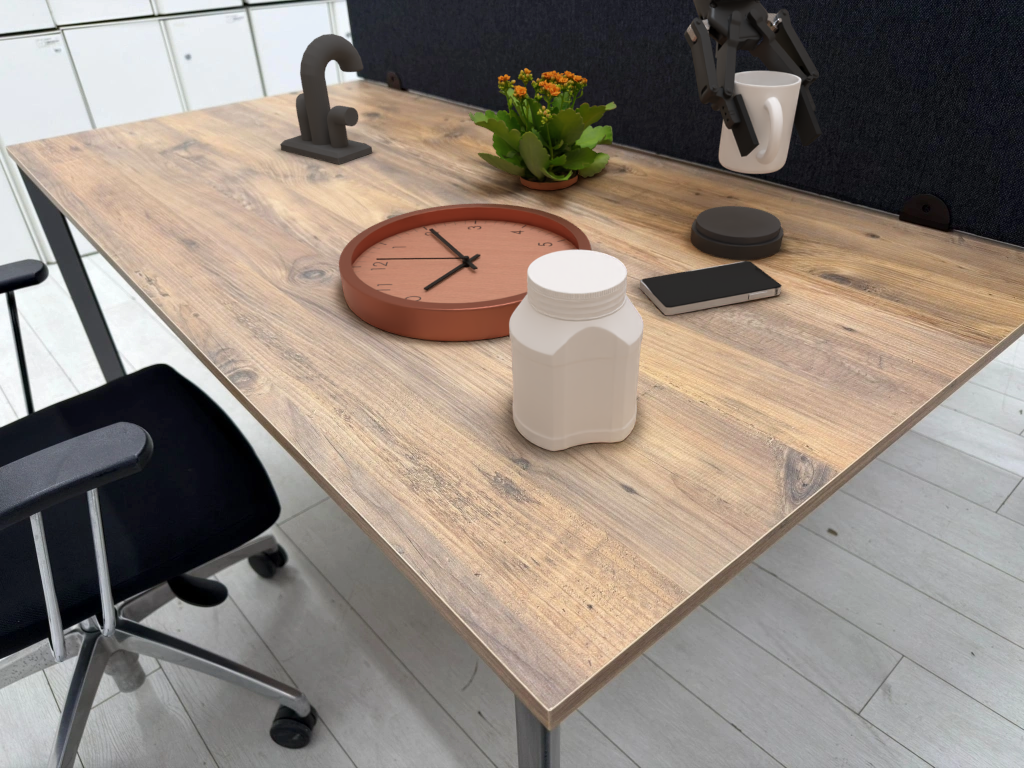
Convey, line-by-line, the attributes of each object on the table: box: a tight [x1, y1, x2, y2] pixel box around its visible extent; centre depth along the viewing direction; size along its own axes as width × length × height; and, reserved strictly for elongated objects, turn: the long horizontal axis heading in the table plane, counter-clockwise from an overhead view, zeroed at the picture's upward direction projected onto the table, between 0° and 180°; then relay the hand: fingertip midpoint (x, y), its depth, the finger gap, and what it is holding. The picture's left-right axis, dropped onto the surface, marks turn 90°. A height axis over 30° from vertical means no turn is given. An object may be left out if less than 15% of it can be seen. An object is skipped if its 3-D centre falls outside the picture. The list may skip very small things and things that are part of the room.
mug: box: [718, 70, 801, 175], centre depth 87 cm, size 12×8×10 cm
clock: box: [338, 202, 592, 342], centre depth 91 cm, size 31×4×31 cm
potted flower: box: [468, 67, 617, 191], centre depth 116 cm, size 25×24×18 cm
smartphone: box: [639, 260, 783, 316], centre depth 87 cm, size 8×1×15 cm
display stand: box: [689, 205, 784, 261], centre depth 98 cm, size 12×12×3 cm
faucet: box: [279, 33, 373, 165], centre depth 136 cm, size 18×16×20 cm
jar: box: [509, 250, 645, 452], centre depth 64 cm, size 12×10×15 cm
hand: (781, 145), depth 86 cm, fingers closed on mug, 8 cm apart
